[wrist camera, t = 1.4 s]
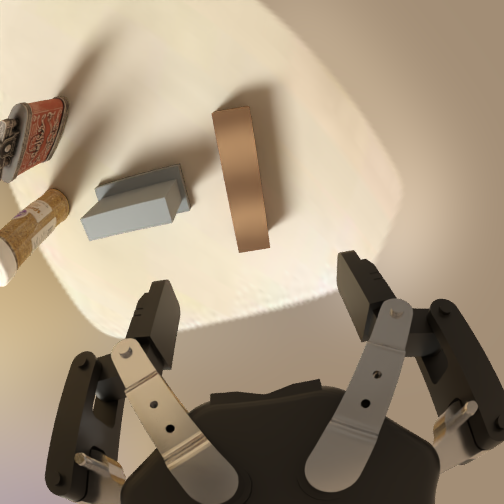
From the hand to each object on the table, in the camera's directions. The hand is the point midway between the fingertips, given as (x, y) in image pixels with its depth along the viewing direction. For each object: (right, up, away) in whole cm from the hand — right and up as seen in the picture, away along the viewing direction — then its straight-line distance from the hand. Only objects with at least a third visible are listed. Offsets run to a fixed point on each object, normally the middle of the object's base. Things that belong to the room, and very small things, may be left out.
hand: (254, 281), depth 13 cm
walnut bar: (-1, +9, +15) cm, 17 cm away
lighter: (-22, +15, +9) cm, 29 cm away
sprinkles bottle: (-24, +7, +14) cm, 29 cm away
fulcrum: (-12, +7, +15) cm, 20 cm away
